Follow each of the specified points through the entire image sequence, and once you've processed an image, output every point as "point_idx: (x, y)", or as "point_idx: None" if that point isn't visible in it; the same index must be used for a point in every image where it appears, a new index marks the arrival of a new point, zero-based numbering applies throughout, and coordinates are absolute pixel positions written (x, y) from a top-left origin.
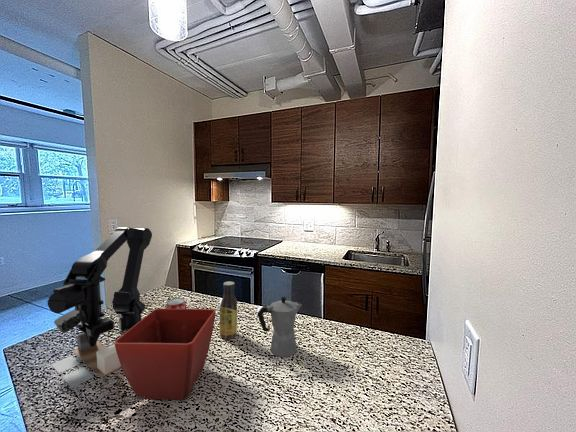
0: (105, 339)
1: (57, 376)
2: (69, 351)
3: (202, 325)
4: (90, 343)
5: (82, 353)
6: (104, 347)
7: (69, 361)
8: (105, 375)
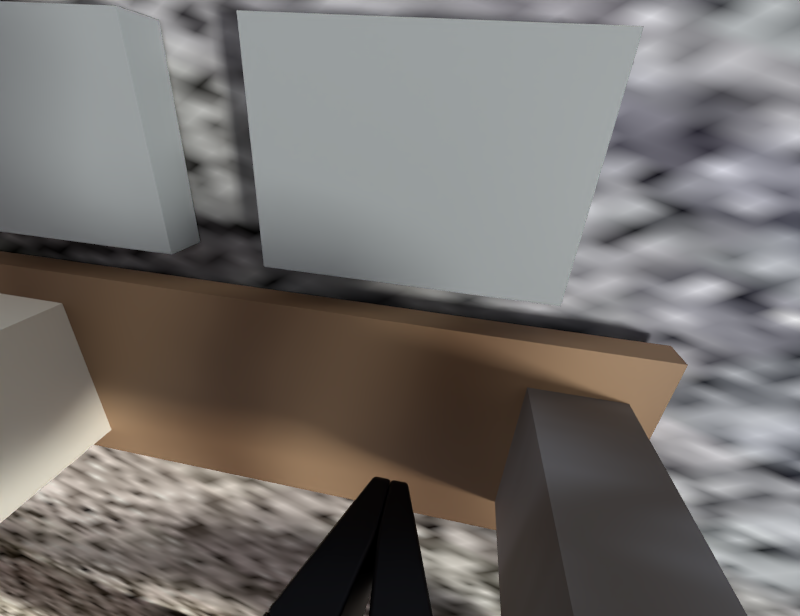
0: None
1: None
2: (780, 356)
3: None
4: (339, 522)
5: (474, 379)
6: None
7: (433, 228)
8: None
